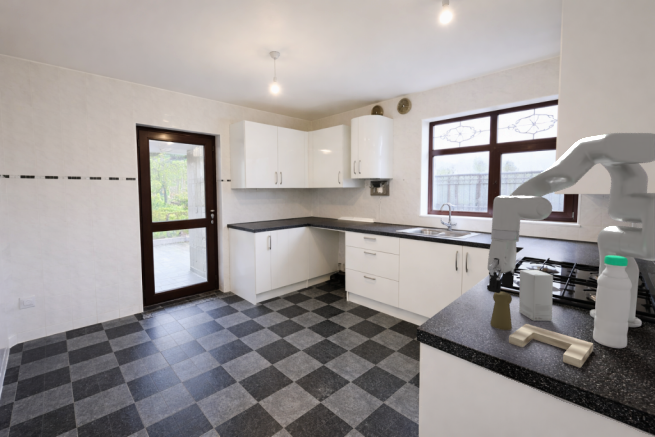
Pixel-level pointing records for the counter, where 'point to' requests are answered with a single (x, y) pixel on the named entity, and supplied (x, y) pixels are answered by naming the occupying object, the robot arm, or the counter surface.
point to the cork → (501, 311)
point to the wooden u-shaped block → (554, 343)
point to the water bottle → (612, 303)
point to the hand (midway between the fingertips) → (501, 289)
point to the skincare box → (536, 295)
